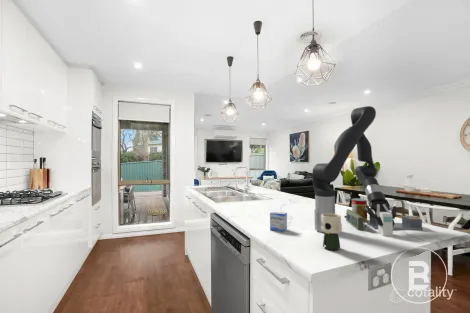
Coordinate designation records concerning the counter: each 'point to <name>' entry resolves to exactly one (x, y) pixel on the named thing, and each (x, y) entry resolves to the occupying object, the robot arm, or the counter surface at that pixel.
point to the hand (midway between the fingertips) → (387, 225)
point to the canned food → (360, 207)
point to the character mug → (331, 230)
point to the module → (386, 224)
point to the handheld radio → (354, 219)
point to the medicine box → (278, 221)
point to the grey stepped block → (406, 224)
